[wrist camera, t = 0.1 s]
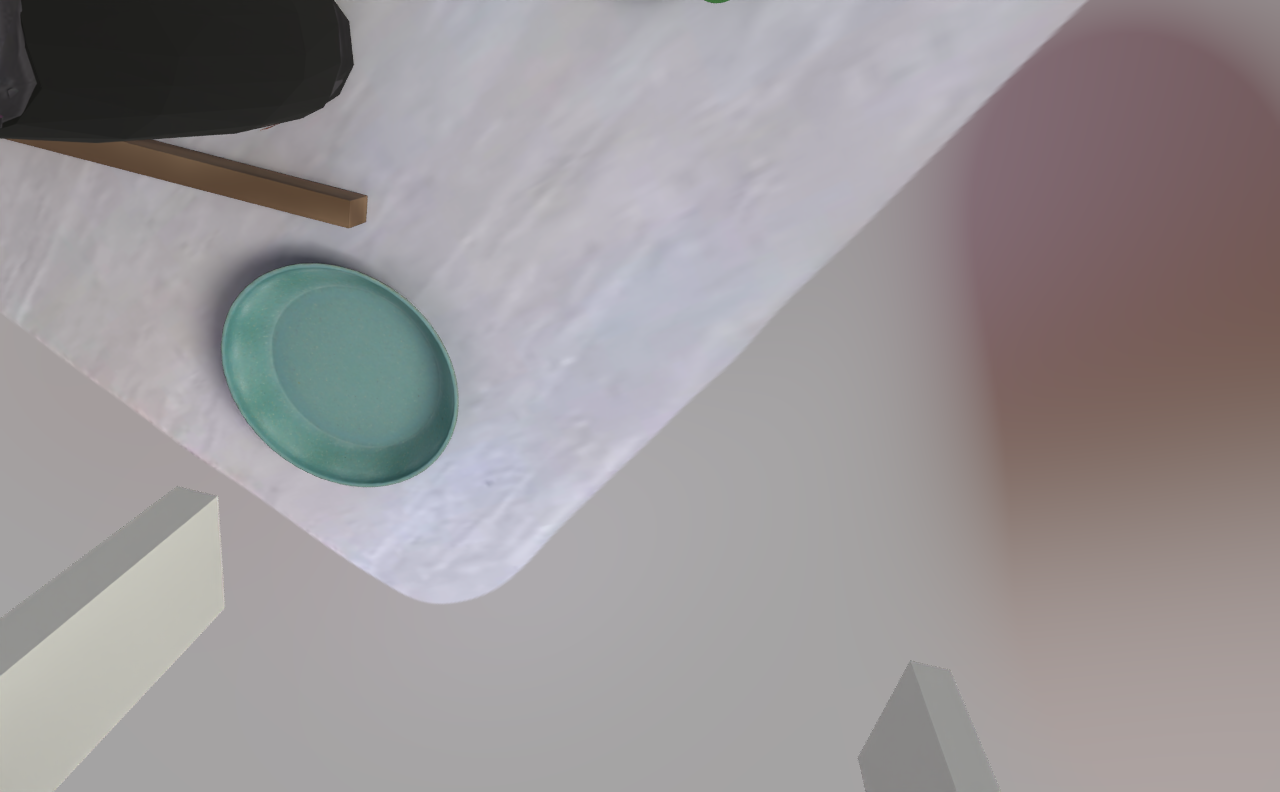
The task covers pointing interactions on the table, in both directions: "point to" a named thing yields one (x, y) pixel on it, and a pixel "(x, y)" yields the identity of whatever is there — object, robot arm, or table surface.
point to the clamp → (716, 1)
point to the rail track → (221, 177)
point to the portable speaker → (166, 66)
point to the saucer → (339, 374)
